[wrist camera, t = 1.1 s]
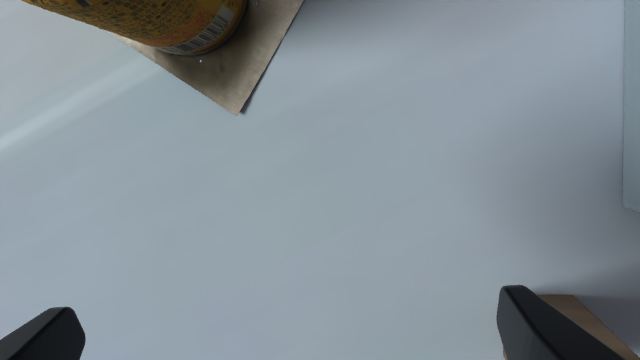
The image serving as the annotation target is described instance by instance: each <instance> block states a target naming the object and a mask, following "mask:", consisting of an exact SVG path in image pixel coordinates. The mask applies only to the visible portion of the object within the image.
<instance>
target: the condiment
mask: <svg viewBox="0 0 640 360" xmlns="http://www.w3.org/2000/svg"><path fill="white" fill-rule="evenodd" d="M22 1H24V2H27V3H29V4H32V5H35V6H38V7H41V8H43V9H45V10H48V11H51V12H56V13H58V14H60V15H63V16H67V17H69V18H72V19H75V20H78V21H82V22H85V23H87V24H90V25H93V26H96V27H98V28H99V29H103V30H105V31H107V32H109V33H110V34H112V35H113V36H115V37H116V38H118V39H119V40H121V41H123V42H124V43H126V44H127V45H129V46H131V47H132V48H134V49H135V50H137V51H138V52H140V53H141V54H143V55H144V56H146V57H147V58H149V59H150V60H152V61H154V62H155V63H156V64H158V65H160V66H161V67H163V68H164V69H166V70H167V71H169V72H170V73H172V74H173V75H175V76H176V77H177V78H179V79H180V80H182V81H184V82H185V83H187V84H188V85H190V86H192V87H193V88H194V89H196V90H198V91H199V92H201V93H202V94H204V95H205V96H207V97H209V98H210V99H211V100H213V101H214V102H216V103H217V104H219V105H220V106H222V107H223V108H225V109H227V110H228V111H230V112H231V113H233V114H234V115H236V116H237V115H238V113H239V112H240V110H241V108H242V106H243V105H244V103H245V101H246V100H247V99H248V97H249V95H250V93H251V92H252V90H253V88H254V87H255V85H256V83H257V82H258V80H259V78H260V76H261V74H262V73H263V71H264V70H265V68H266V66H267V64H268V63H269V61H270V59H271V57H272V56H273V54H274V52H275V50H276V48H277V47H278V45H279V43H280V42H281V40H282V39H283V37H284V35H285V33H286V31H287V29H288V27H289V25H290V23H291V22H292V20H293V18H294V16H295V15H296V13H297V12H298V10H299V8H300V6H301V4H302V2H303V0H258V2H259V5H258V6H256V4H255V0H22ZM200 60H202V62H199V61H200Z"/></svg>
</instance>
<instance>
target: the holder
mask: <svg viewBox="0 0 640 360" xmlns="http://www.w3.org/2000/svg"><path fill="white" fill-rule="evenodd" d="M623 207H625V208H628V209H631V210H634V211H637V212H640V0H625V35H624V131H623Z"/></svg>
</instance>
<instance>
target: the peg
mask: <svg viewBox="0 0 640 360" xmlns="http://www.w3.org/2000/svg"><path fill="white" fill-rule="evenodd" d="M538 296H539V297H541V298H542V299H543V300H545V301H546V302H547V303H549V304H550V305H552V306H553V307H554V308H556V309H557V310H558V311H560V312H561V313H563V314H564V315H565V316H567V317H568V318H569V319H571V320H572V321H574V322H575V323H576V324H578V325H579V326H581V327H582V328H583V329H585V330H586V331H587V332H589V333H590V334H592V335H593V336H594V337H596V338H597V339H598V340H600V341H601V342H603V343H604V344H605V345H607V346H608V347H609V348H611V349H612V350H614V351H615V352H616V353H618V354H619V355H620V356H622V357H623V358H625V359H626V360H640V358H639V357H638V356H637V355H636V354H635V353H634V352H633V351H632V350H631V349H630V348H629V347H627V346H626V345H625V344H624V343H623V342H622V341H621V340H620V339H619V338H618V337H617V336H616V335H615V334H614V333H613V332H611V331H610V330H609V329H608V328H607V327H606V326H605V325H604V324H603V323H602V322H601V321H600V320H599V319H598V318H597V317H595V316H594V315H593V314H592V313H591V312H590V311H589V310H588V309H587V308H586V307H585V306H584V305H583V304H582V303H581V302H580V301H578V300H577V299H576V298H575V297H574V296H573V295H538ZM503 354H504V358H505V360H507V357H506V353H505V350H504V347H503Z"/></svg>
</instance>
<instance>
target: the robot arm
mask: <svg viewBox="0 0 640 360" xmlns="http://www.w3.org/2000/svg"><path fill="white" fill-rule="evenodd" d="M497 326H498V330H499V333H500V337H501V340H502V343H503V347H504V350H505V353H506V357H507V360H626V359H625V358H623V357H622V356H620V355H619V354H618V353H616V352H615V351H614V350H612V349H611V348H609V347H608V346H607V345H605V344H604V343H603V342H601V341H600V340H598V339H597V338H596V337H594V336H593V335H592V334H590V333H589V332H587V331H586V330H585V329H583V328H582V327H581V326H579V325H578V324H576V323H575V322H574V321H572V320H571V319H569V318H568V317H567V316H565V315H564V314H563V313H561V312H560V311H558V310H557V309H556V308H554V307H553V306H552V305H550V304H549V303H547V302H546V301H545V300H543V299H542V298H541V297H539V296H538V295H536V294H535V293H534V292H532V291H531V290H530V289H528V288H527V287H525V286H523V285H509V286H503V287H502V288H501V290H500V295H499V302H498V310H497ZM84 345H85V333H84V330H83V328H82V326H81V324H80V322H79V320H78V318H77V316H76V314H75V312H74V310H73V309H72V308H70V307H54V308H50V309H48V310H46V311H44V312H43V313H41V314H40V315H38V316H37V317H35V318H34V319H32V320H30V321H29V322H27V323H26V324H24V325H23V326H21V327H20V328H18V329H16V330H15V331H13V332H12V333H10V334H9V335H7V336H6V337H4V338H3V339H1V340H0V360H79V359H80V357H81V354H82V351H83V349H84Z"/></svg>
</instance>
